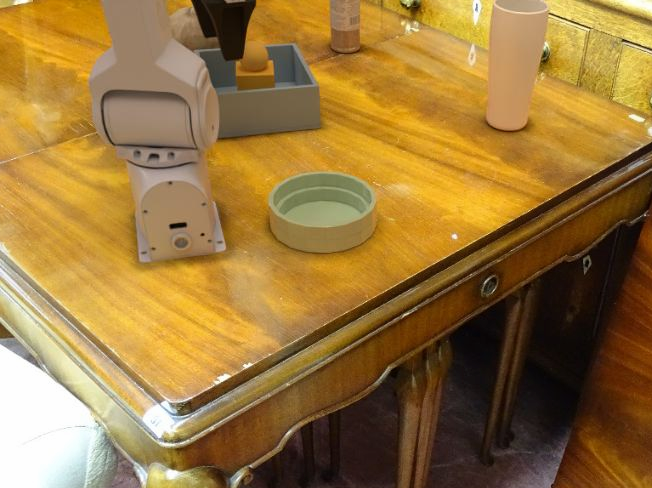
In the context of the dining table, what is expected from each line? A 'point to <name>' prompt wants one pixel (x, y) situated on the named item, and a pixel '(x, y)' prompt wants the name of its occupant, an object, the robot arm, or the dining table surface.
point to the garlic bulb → (190, 31)
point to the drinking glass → (514, 60)
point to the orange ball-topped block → (254, 68)
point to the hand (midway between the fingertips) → (223, 47)
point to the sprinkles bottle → (345, 25)
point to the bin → (265, 95)
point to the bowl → (322, 211)
